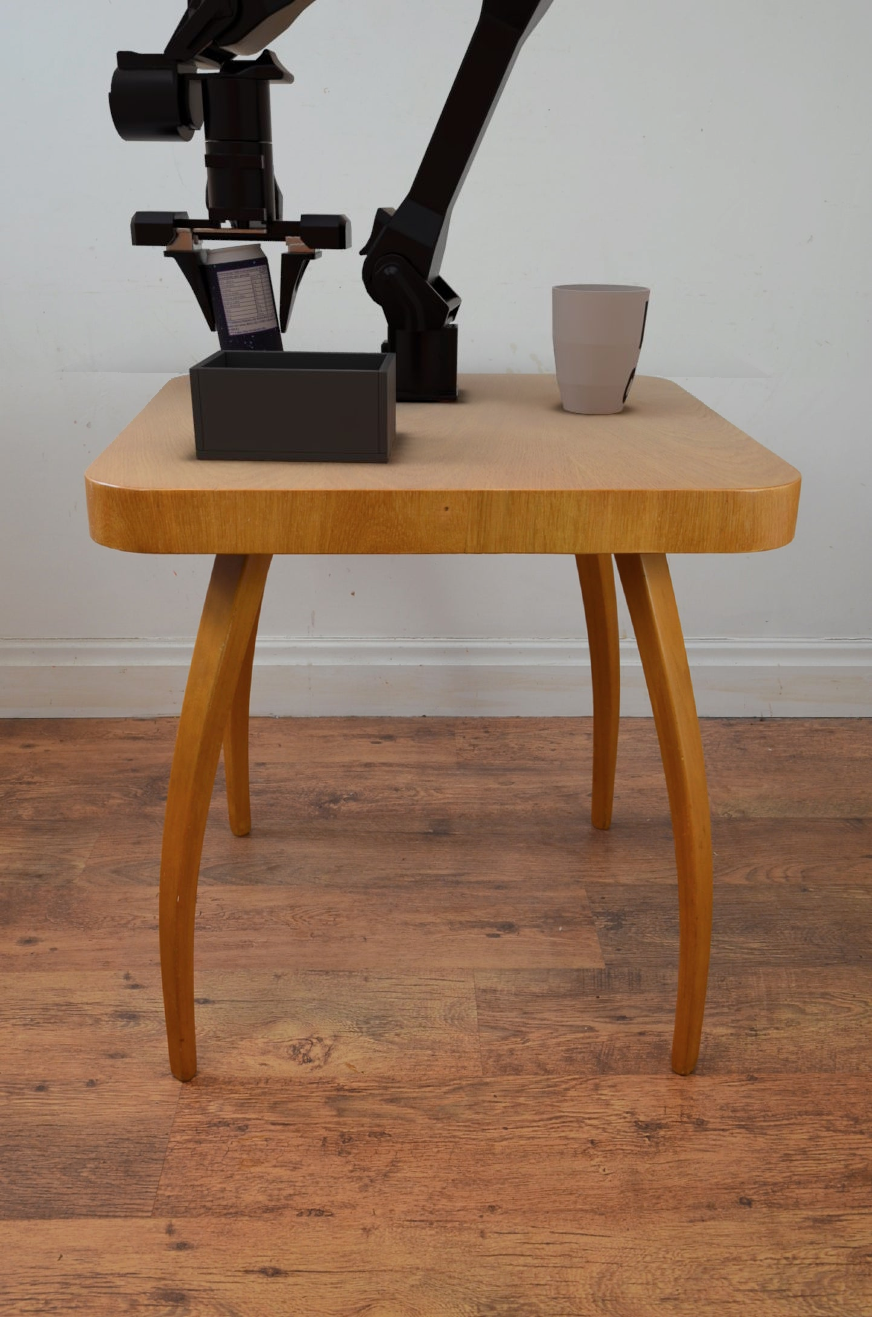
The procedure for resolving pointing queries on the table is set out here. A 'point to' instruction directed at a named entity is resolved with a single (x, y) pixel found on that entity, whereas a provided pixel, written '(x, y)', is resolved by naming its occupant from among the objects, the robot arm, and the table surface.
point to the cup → (597, 343)
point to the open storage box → (294, 406)
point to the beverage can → (243, 298)
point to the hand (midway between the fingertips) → (249, 331)
